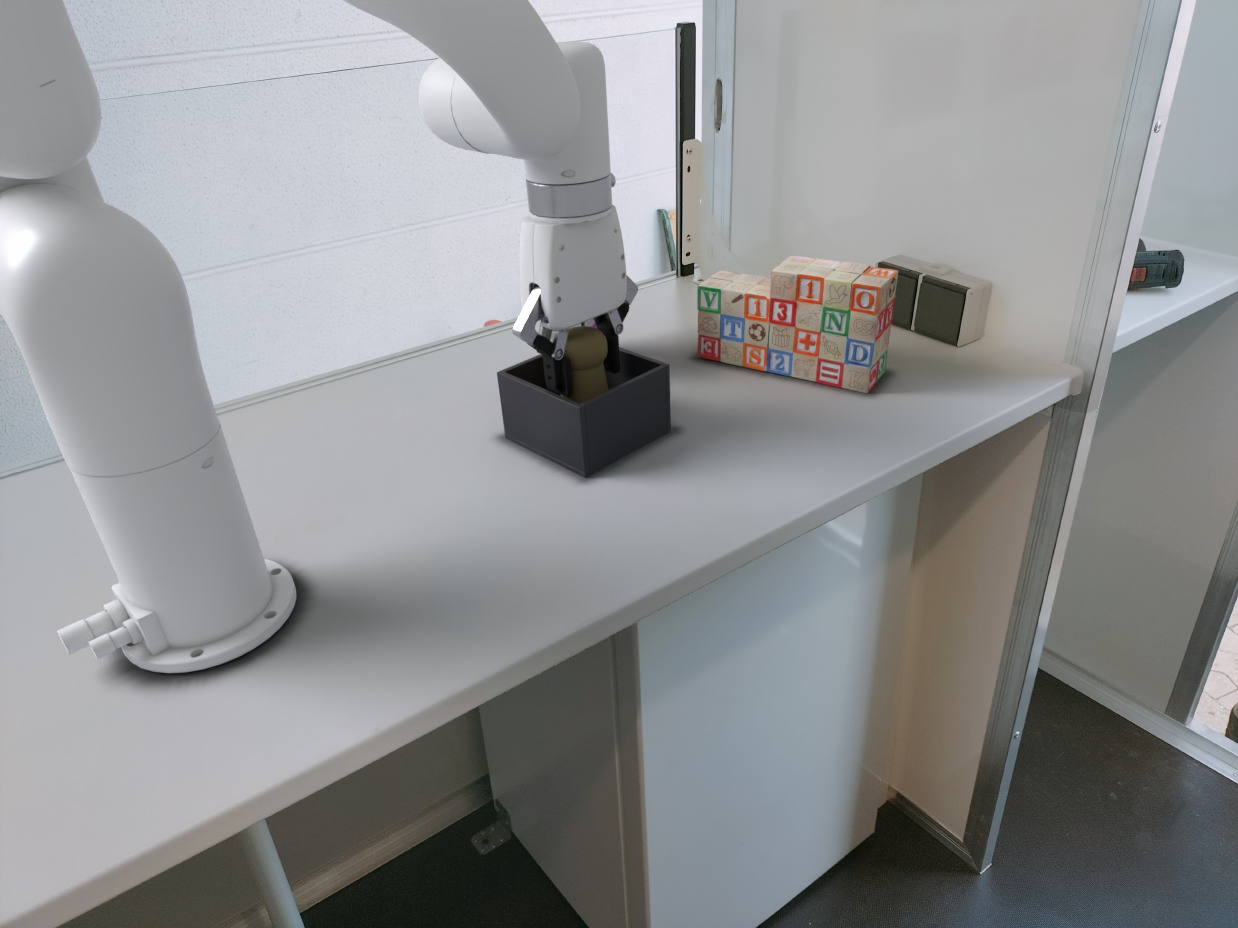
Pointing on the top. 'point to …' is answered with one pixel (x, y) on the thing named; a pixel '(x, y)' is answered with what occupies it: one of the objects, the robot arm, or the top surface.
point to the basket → (586, 413)
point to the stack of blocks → (801, 320)
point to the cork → (586, 362)
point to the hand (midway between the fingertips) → (583, 379)
